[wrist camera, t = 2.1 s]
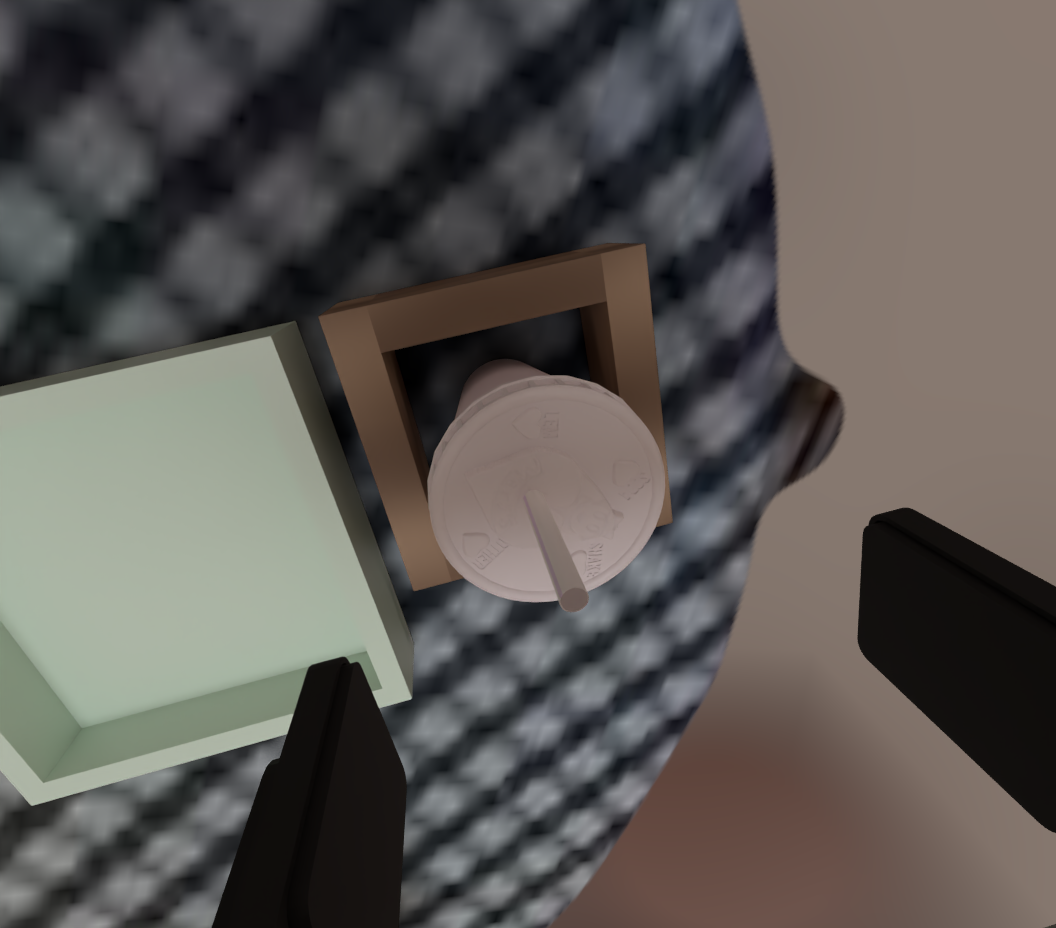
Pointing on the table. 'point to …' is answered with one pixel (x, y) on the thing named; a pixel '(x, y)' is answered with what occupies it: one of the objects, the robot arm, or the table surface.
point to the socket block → (471, 305)
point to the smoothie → (543, 485)
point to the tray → (178, 561)
